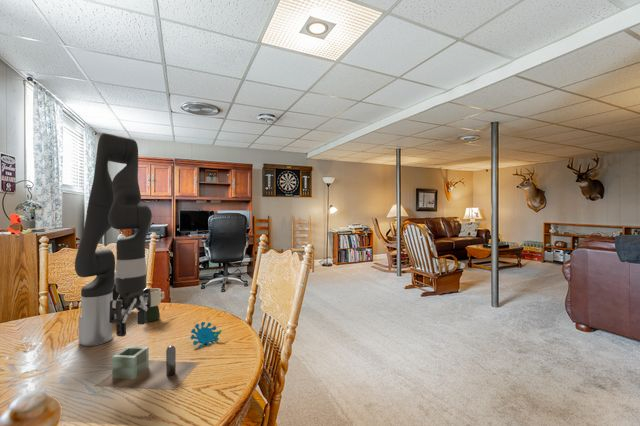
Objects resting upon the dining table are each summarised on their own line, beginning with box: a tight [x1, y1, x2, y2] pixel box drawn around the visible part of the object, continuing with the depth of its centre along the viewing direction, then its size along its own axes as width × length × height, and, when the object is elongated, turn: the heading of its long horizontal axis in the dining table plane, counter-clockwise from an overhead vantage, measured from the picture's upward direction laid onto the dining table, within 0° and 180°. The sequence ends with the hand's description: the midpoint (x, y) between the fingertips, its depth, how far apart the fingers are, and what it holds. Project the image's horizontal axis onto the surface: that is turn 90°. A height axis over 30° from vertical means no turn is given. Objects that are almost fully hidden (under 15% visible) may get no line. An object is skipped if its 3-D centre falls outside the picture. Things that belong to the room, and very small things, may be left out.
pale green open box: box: [111, 345, 150, 379], centre depth 88 cm, size 6×6×6 cm
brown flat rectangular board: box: [95, 359, 200, 391], centre depth 88 cm, size 22×14×1 cm, turn 86°
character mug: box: [145, 287, 165, 322], centre depth 131 cm, size 11×7×13 cm, turn 145°
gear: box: [190, 321, 223, 349], centre depth 109 cm, size 11×6×10 cm
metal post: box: [165, 345, 177, 377], centre depth 87 cm, size 2×2×8 cm
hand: (132, 329), depth 88 cm, fingers open, 8 cm apart
